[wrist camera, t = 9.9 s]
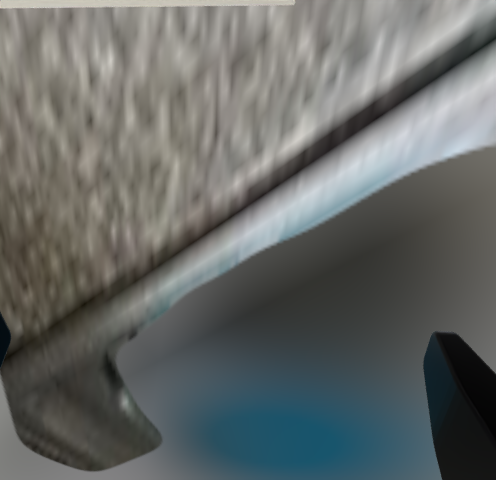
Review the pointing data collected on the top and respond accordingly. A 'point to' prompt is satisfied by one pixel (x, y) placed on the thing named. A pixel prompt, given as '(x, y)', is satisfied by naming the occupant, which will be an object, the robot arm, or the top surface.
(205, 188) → the top surface
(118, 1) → the tray
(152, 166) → the top surface
